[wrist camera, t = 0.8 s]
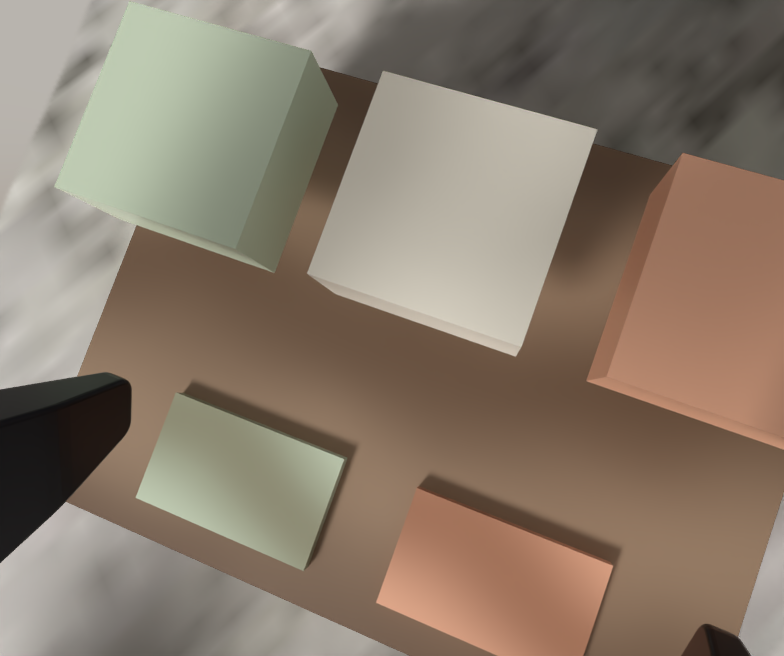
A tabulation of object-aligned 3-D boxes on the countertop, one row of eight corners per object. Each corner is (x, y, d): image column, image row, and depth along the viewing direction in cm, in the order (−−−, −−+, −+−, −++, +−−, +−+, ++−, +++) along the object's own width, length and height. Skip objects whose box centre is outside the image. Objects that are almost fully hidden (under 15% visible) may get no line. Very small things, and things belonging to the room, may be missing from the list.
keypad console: (626, 661, 22) (697, 792, 14) (159, 463, 25) (23, 488, 18) (752, 276, 22) (880, 215, 15) (284, 135, 26) (204, 29, 18)
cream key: (515, 356, 14) (521, 347, 12) (335, 294, 15) (306, 273, 13) (579, 174, 14) (597, 129, 12) (399, 122, 15) (383, 70, 13)
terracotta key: (796, 453, 13) (864, 464, 11) (586, 381, 14) (606, 376, 11) (859, 254, 13) (940, 223, 11) (649, 194, 14) (682, 152, 12)
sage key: (274, 272, 15) (235, 248, 13) (118, 218, 16) (54, 186, 14) (338, 104, 15) (311, 51, 13) (181, 59, 16) (129, 1, 14)
